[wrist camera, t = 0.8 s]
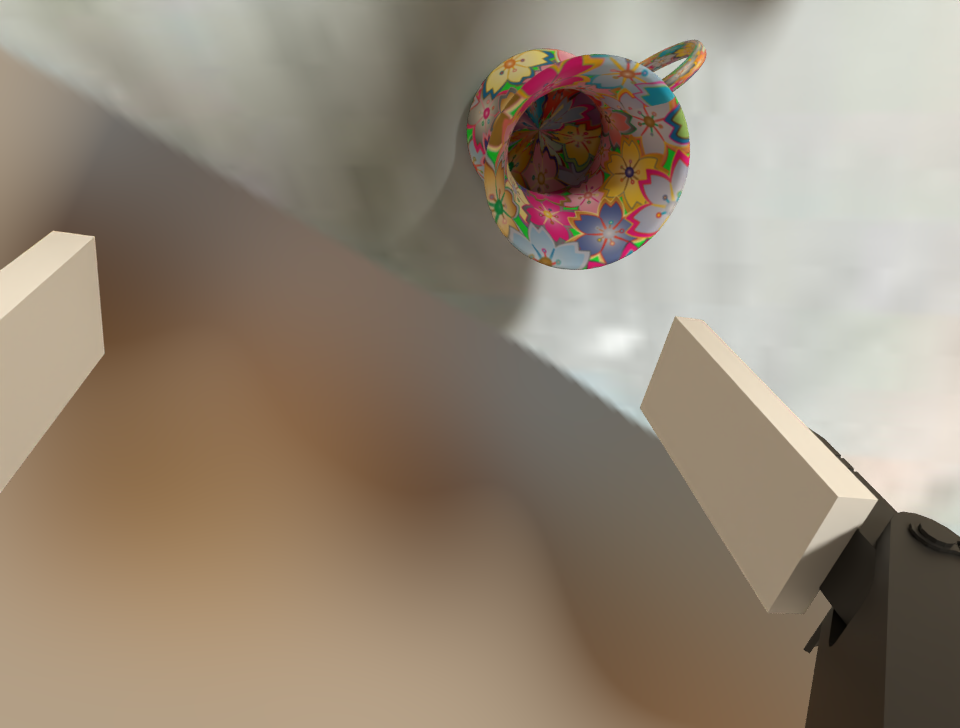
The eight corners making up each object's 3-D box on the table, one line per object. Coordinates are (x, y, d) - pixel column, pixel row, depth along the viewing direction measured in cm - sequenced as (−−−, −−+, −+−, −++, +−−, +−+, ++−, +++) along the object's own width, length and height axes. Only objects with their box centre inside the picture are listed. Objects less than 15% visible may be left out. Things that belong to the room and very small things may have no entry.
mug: (524, 237, 41) (568, 308, 32) (423, 122, 36) (440, 165, 27) (681, 102, 38) (779, 136, 29) (591, -40, 34) (673, -54, 24)
